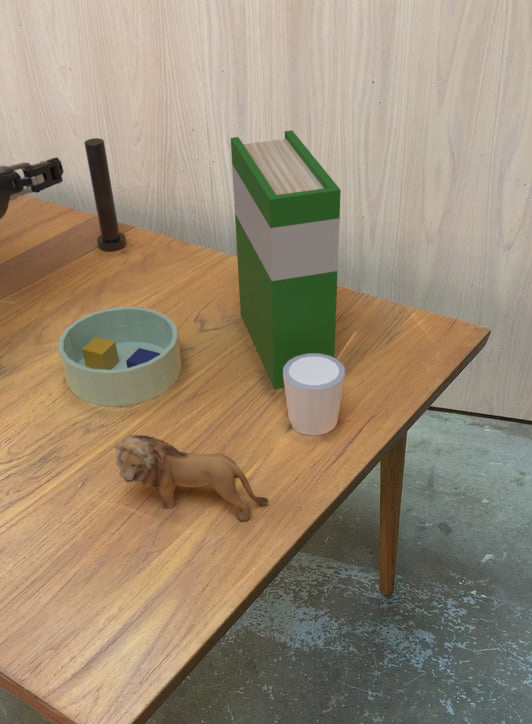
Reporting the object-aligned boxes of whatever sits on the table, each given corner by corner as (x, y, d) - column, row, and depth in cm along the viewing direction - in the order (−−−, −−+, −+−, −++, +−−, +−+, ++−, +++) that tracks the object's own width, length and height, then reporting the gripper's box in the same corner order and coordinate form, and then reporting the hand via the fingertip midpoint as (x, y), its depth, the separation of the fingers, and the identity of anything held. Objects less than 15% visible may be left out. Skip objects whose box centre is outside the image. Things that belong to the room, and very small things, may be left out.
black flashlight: (92, 248, 123) (72, 145, 112) (108, 236, 125) (90, 134, 114) (116, 253, 121) (98, 149, 110) (131, 241, 124) (115, 138, 113)
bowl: (44, 393, 95) (33, 355, 91) (109, 334, 104) (102, 297, 101) (143, 422, 90) (137, 383, 87) (202, 357, 100) (198, 320, 96)
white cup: (277, 434, 88) (276, 384, 83) (290, 398, 93) (289, 349, 88) (337, 442, 87) (339, 392, 82) (347, 405, 92) (350, 355, 87)
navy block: (129, 380, 95) (125, 360, 93) (142, 367, 97) (139, 347, 95) (150, 386, 94) (147, 366, 92) (163, 373, 96) (160, 352, 94)
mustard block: (86, 369, 98) (81, 348, 96) (99, 356, 100) (95, 336, 97) (106, 374, 97) (102, 354, 95) (119, 361, 99) (115, 341, 96)
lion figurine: (122, 524, 79) (107, 458, 72) (129, 487, 82) (116, 421, 76) (268, 522, 78) (265, 455, 72) (268, 485, 82) (265, 419, 76)
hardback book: (240, 318, 106) (230, 137, 90) (293, 309, 108) (292, 130, 91) (274, 393, 94) (269, 199, 77) (333, 382, 95) (340, 189, 79)
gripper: (1, 156, 85) (69, 131, 98) (-105, 173, 89) (-26, 148, 102) (23, 225, 88) (86, 193, 102) (-79, 239, 93) (-6, 206, 106)
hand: (30, 170), depth 102 cm, fingers open, 8 cm apart
